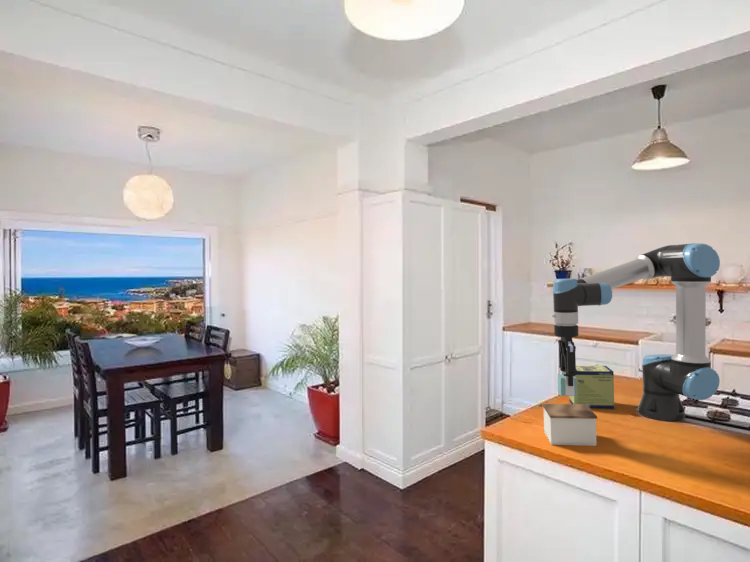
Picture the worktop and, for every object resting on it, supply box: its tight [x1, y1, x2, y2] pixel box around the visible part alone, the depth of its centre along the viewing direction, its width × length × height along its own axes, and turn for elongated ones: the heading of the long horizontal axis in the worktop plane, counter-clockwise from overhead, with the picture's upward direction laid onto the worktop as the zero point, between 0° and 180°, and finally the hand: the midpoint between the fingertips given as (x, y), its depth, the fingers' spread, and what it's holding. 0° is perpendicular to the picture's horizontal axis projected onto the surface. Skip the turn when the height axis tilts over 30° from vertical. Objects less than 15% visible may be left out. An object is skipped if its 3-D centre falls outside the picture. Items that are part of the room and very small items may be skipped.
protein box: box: [568, 365, 615, 410], centre depth 191 cm, size 10×16×16 cm
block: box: [557, 373, 577, 397], centre depth 155 cm, size 5×5×6 cm
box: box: [538, 403, 597, 447], centre depth 156 cm, size 17×12×10 cm
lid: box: [542, 403, 598, 420], centre depth 155 cm, size 14×13×1 cm
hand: (567, 392), depth 155 cm, fingers closed on block, 5 cm apart
